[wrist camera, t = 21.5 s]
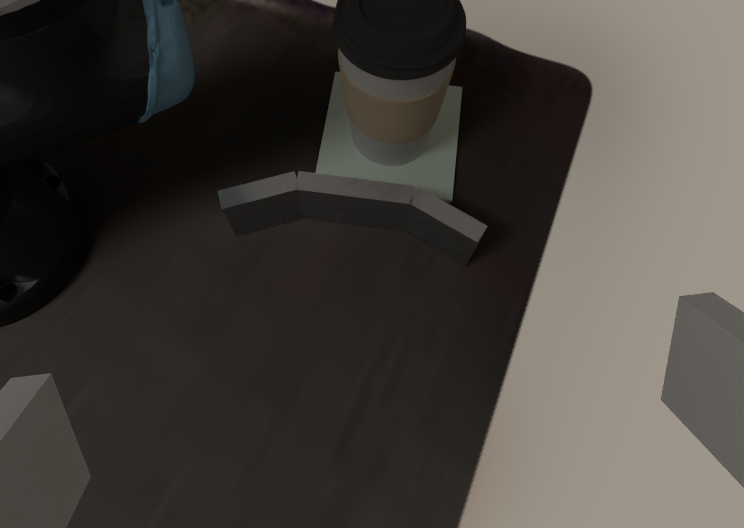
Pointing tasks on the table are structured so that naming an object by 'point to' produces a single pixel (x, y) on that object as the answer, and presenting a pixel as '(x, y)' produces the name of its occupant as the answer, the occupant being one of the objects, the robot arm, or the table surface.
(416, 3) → the coffee cup
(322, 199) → the bent rail
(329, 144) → the mat
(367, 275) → the table surface
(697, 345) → the robot arm
